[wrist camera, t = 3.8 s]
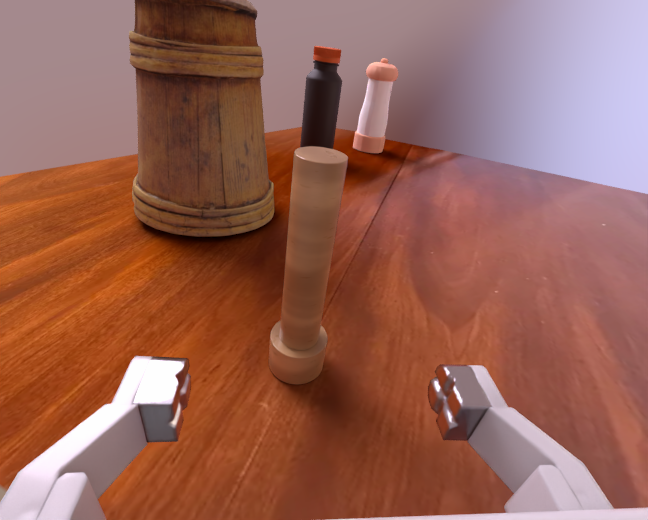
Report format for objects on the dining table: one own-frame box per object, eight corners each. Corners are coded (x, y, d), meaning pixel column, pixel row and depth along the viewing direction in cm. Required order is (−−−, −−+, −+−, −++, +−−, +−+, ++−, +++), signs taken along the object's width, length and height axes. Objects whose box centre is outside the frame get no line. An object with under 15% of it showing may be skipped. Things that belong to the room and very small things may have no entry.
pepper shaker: (351, 142, 89) (365, 55, 78) (379, 146, 90) (398, 59, 79) (354, 151, 83) (370, 57, 72) (385, 154, 83) (405, 62, 73)
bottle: (334, 155, 78) (349, 50, 67) (326, 164, 72) (341, 50, 61) (305, 149, 79) (315, 45, 68) (295, 157, 73) (304, 45, 62)
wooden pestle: (306, 394, 26) (341, 174, 17) (257, 368, 28) (265, 153, 19) (331, 355, 30) (371, 155, 21) (286, 334, 31) (305, 138, 22)
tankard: (111, 237, 40) (46, -48, 27) (169, 168, 60) (148, -18, 47) (271, 247, 43) (285, -9, 29) (277, 177, 62) (286, 4, 49)
